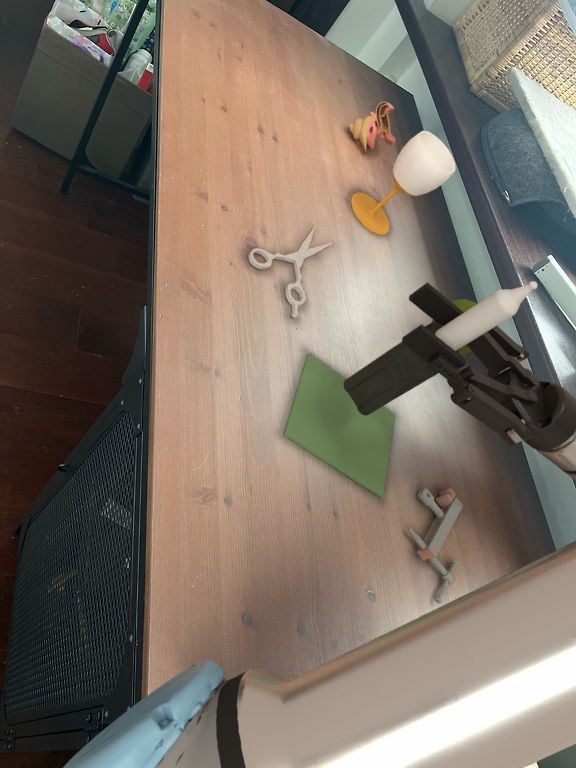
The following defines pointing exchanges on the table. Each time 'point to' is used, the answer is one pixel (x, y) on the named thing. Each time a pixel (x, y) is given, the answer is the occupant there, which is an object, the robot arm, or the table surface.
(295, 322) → the table surface
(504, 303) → the candle
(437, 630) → the robot arm
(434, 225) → the table surface
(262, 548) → the table surface
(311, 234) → the scissors
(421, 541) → the clamp
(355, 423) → the cloth
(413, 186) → the cup
